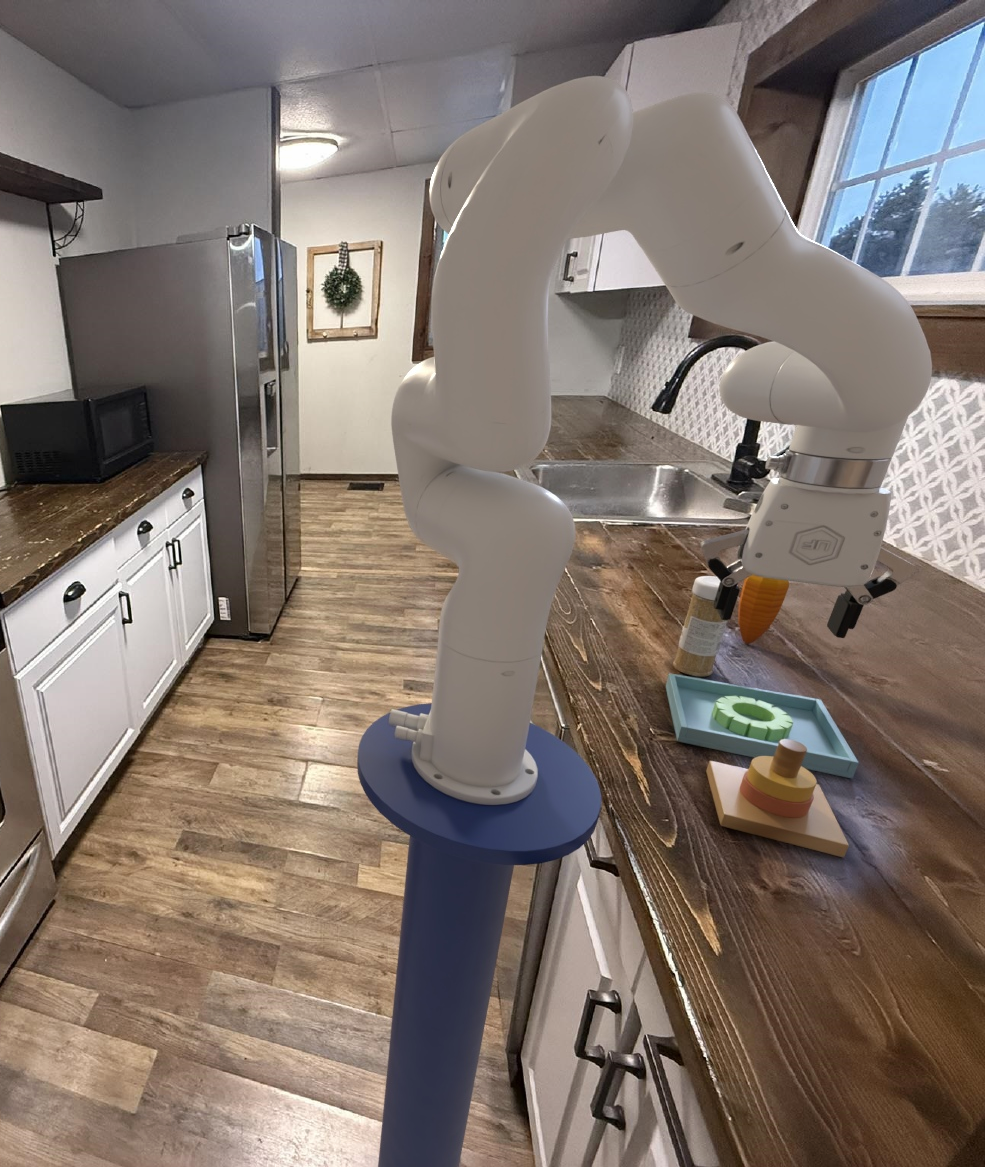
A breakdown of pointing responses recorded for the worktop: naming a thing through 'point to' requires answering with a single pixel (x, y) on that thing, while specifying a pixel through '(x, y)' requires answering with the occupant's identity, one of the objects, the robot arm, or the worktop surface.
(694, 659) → the sprinkles bottle
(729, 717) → the ring
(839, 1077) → the worktop surface
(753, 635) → the carrot
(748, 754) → the tray
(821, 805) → the stand
